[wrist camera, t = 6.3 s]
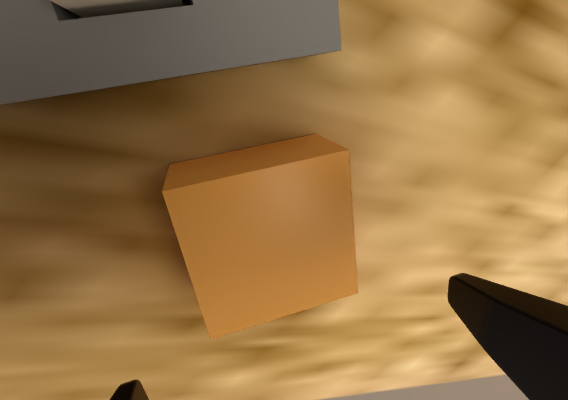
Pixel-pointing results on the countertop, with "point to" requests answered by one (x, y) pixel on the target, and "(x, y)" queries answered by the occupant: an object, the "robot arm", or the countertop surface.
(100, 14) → the breaker button
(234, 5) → the panel
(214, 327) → the cap
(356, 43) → the countertop surface
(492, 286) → the robot arm
